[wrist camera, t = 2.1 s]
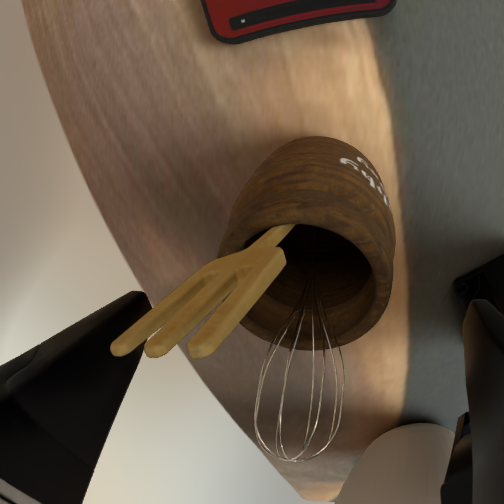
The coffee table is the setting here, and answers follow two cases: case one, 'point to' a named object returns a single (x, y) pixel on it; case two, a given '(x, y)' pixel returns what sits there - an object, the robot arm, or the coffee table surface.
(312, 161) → the utensil holder
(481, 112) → the coffee table surface
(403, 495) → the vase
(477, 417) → the robot arm
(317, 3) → the smartphone
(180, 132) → the coffee table surface
